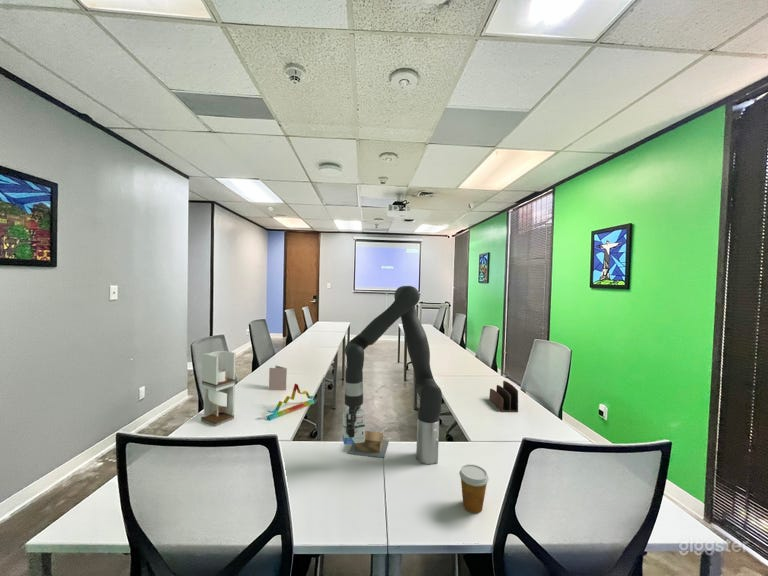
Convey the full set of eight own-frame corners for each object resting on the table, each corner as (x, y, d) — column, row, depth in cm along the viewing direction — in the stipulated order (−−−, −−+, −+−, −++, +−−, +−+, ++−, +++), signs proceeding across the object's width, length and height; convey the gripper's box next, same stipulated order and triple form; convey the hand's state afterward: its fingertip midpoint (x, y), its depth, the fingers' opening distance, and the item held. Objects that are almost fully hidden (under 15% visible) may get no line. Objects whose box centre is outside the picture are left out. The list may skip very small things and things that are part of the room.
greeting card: (287, 390, 210) (287, 367, 210) (278, 393, 204) (278, 370, 204) (275, 386, 216) (276, 365, 216) (266, 389, 210) (267, 367, 210)
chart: (270, 421, 164) (271, 392, 164) (266, 419, 166) (267, 391, 166) (314, 404, 189) (315, 379, 189) (310, 402, 191) (311, 378, 190)
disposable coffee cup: (481, 497, 110) (482, 463, 110) (491, 517, 101) (493, 480, 101) (455, 496, 110) (456, 463, 110) (462, 517, 100) (464, 480, 100)
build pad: (388, 441, 146) (388, 440, 146) (384, 458, 132) (384, 457, 132) (355, 437, 149) (355, 437, 149) (347, 453, 135) (347, 452, 135)
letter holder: (503, 400, 205) (504, 378, 205) (518, 412, 186) (519, 389, 185) (488, 399, 205) (489, 378, 205) (502, 412, 185) (502, 389, 185)
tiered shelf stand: (201, 421, 161) (202, 353, 160) (220, 413, 170) (221, 350, 170) (215, 426, 155) (216, 357, 155) (234, 418, 165) (235, 353, 164)
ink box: (344, 445, 123) (344, 415, 122) (342, 439, 127) (342, 410, 127) (365, 442, 125) (365, 413, 125) (362, 436, 130) (362, 408, 130)
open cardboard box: (382, 443, 144) (382, 432, 144) (379, 452, 136) (379, 441, 136) (359, 440, 146) (359, 430, 145) (355, 449, 138) (355, 438, 138)
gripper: (358, 399, 118) (358, 442, 118) (366, 386, 132) (366, 425, 133) (339, 398, 119) (339, 441, 120) (349, 385, 134) (349, 424, 134)
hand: (353, 432), depth 126 cm, fingers closed on ink box, 6 cm apart
